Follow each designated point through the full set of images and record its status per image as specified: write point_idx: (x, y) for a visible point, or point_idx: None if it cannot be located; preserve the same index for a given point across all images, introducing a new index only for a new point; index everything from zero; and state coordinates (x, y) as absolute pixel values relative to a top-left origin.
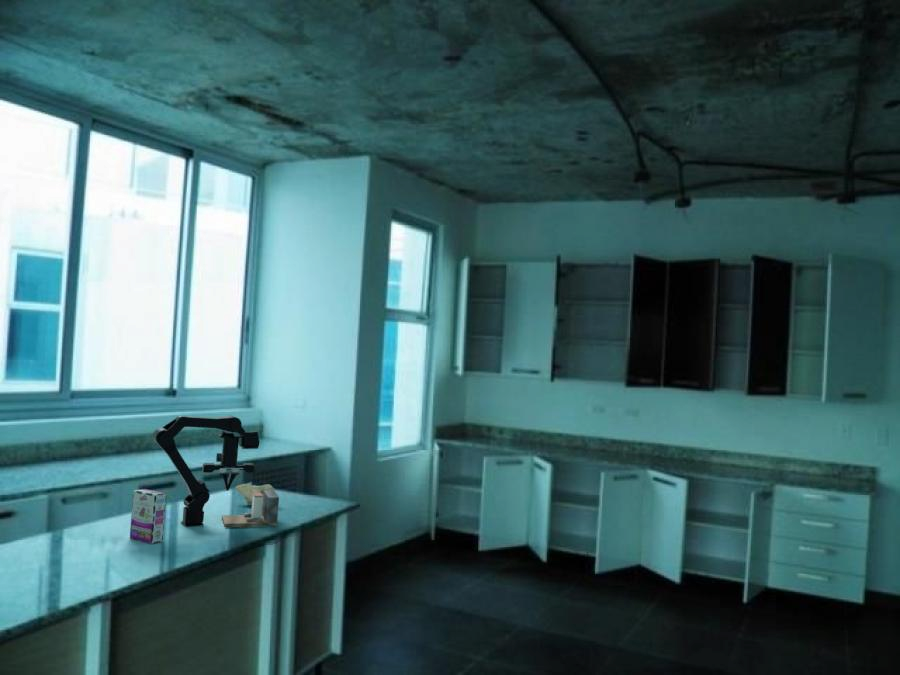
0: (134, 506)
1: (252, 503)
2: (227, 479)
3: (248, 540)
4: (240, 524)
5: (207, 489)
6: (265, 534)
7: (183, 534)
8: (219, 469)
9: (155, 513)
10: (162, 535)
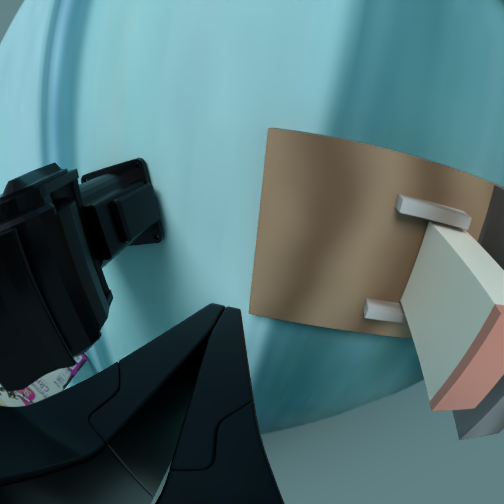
0: None
1: (454, 285)
2: (160, 482)
3: (292, 424)
4: (323, 323)
5: (56, 367)
6: (368, 399)
7: (114, 325)
8: None
9: None
10: (79, 369)
